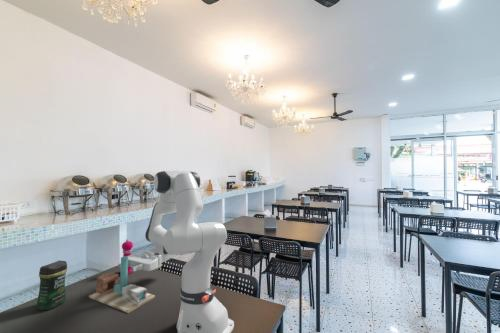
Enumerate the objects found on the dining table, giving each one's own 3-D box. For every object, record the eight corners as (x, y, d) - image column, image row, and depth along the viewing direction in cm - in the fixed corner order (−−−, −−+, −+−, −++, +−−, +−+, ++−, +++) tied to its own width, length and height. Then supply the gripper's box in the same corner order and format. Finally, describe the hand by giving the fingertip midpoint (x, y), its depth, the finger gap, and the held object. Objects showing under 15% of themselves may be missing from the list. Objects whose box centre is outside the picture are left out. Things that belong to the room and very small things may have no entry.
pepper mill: (135, 270, 141) (136, 237, 142) (128, 275, 134) (129, 240, 135) (124, 269, 142) (125, 237, 143) (116, 274, 135) (118, 240, 136)
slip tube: (143, 296, 106) (144, 260, 106) (138, 300, 103) (139, 262, 104) (119, 288, 113) (120, 254, 114) (113, 291, 110) (114, 256, 111)
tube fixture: (154, 297, 110) (155, 280, 110) (128, 313, 97) (128, 293, 98) (116, 285, 122) (117, 269, 123) (88, 297, 110) (89, 280, 110)
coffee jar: (47, 312, 98) (49, 267, 98) (32, 310, 99) (34, 266, 100) (69, 300, 107) (71, 259, 108) (55, 298, 109) (57, 258, 109)
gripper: (136, 249, 128) (112, 257, 115) (163, 255, 119) (140, 264, 106) (136, 261, 127) (111, 270, 115) (163, 267, 119) (140, 278, 106)
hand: (125, 267), depth 111 cm, fingers open, 8 cm apart
